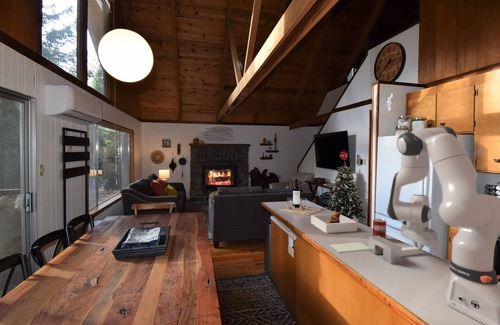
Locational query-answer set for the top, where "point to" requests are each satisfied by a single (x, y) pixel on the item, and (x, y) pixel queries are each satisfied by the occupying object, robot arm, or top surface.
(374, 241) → the notched metal block
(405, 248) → the plug
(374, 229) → the soda can
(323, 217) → the white shallow square tray
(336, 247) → the pad
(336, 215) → the bear figurine
